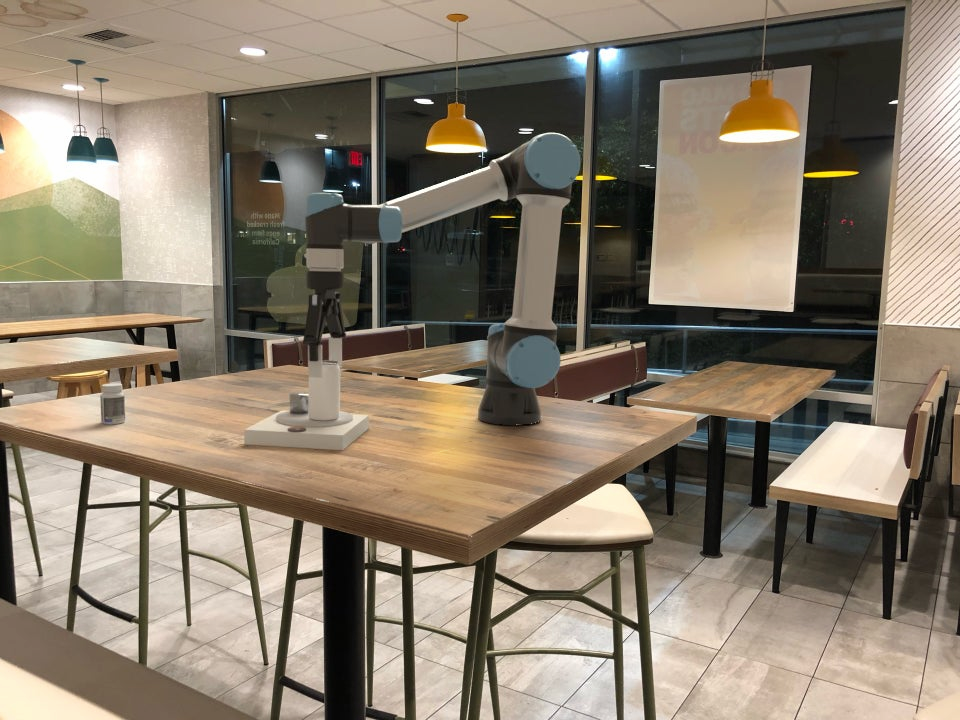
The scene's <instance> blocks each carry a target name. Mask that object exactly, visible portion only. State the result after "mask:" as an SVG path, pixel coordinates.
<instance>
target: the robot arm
mask: <svg viewBox="0 0 960 720" xmlns="http://www.w3.org/2000/svg"><path fill="white" fill-rule="evenodd" d="M580 155H581V154H580V152H579V150H578V148H577V146H576V145H575V143H574V142H573V141H572V140H571V139H570V138H569V137H568V136H565V135H564V134H561V133H558V132H557V133H556V132H546V133H541V134H538V135H536V136H534V137H533V138H531V139H530V140H529V141H527V142H525V143H523V144H521V145H519V146H518V147H517V148H515V149H513V150H512V151H511V152H509V153H507V154H505V155H503V156H500V157H498V158H496V159H492V160H490V162H489V164H488V166H486V167H483V168H481V169H478V170H475V171H473V172H470V173H469V172H468V173H467V174H464V175H460V176H458V177H456V178H452V179H448V180H445V181H443V182H441V183H437V184H434V185H432V186H429V187H425V188H424V189H421V190H418V191H414V192H412V193H409V194H406V195H403V196H401V197H397V198H394V199H391V200H389V201H386V202H384V203H380V204H375V205H373V204H349V203H345V201H344V197H343V195H342V194H339V193H330V192H313V193H309V194H308V195H307V196H306V198H305V250H306V252H305V253H304V254H303V257H304V258H305V259H306V261H305V262H306V268H307V269H309V270H308V271H306V274H305V276H306V281H305V283H306V288H307V289H308V290H314V294H308V307H307V313H306V320H305V327H304V332H303V333H304V334H303V338H302V339H303V340H302V345H304V346H307V377H308V378H309V377H317V378H322V377H323V371H322V360H323V344H321V341H322V338H323V333H324V329H325V325H327V328H328V333H329V335H330V337H328V360H331V361H337V362H338V366H339V368H340V369H342V368H343V338H344V339H345V338H346V336H347V332H346V327H345V322H344V321H345V320H344V314H343V309H342V302H341V301H342V300H341V295H342V294H341V292H336V291H340V290H343V289H344V285H345V284H344V282H345V281H344V279H345V278H344V274H345V273H344V272H343V271H342V270H343V269H344V268H345V266H344V265H345V262H344V258H345V257H344V254H345V252H344V251H345V250H344V242H359V243H360V242H361V243H363V244H366V245H373V244H376V243H384V244H389V243H398V242H400V240H401V239H402V233H403V234H404V233H405V232H408V231H410V230H414V229H417V228H419V227H422V226H425V225H428V224H430V223H434V222H437V221H439V220H443V219H445V218H448V217H451V216H453V215H456V214H459V213H463V212H465V211H467V210H470V209H474V208H477V207H479V206H482V205H485V204H488V203H491V202H492V201H493V202H494V201H496V200H500V201H503V202H506V201H509V200H513V199H516V200H518V201H519V202H520V204H521V206H522V207H521V216H520V218H521V219H520V228H519V240H518V250H517V251H518V252H517V263H516V274H515V282H514V283H515V284H514V293H513V304H512V313H511V314H512V315H511V317H510V318H509V319H507V320H506V321H505V322H504V323H494V324H492V325H490V327H489V328H488V335H487V336H486V339H487V351H486V352H487V353H486V354H487V357H486V358H487V359H486V361H487V362H486V387H485V390H484V392H483V396H482V397H481V401H480V403H479V407H478V412H477V415H478V416H477V419H478V420H479V421H482V422H485V423H487V424H492V425H493V424H494V425H499V424H502V425H501V426H517V425H516V424H530V425H532V424H531V423H535V422H538V421H540V420H542V417H541V416H542V414H541V413H542V411H541V406H540V403H539V400H538V396H537V392H536V389H537V388H541V387H543V386H546V385H547V384H549V383H550V382H551V381H553V379H554V378H555V377H556V375H557V374H558V372H559V370H560V367H561V360H562V359H561V353H560V351H559V348H558V346H557V335H558V326H557V325H556V324H555V323H554V321H553V320H552V314H553V307H554V306H553V305H554V304H553V303H554V295H555V285H556V276H557V265H558V252H559V245H560V243H559V242H560V234H561V224H562V223H561V222H562V214H563V213H562V212H563V209H564V208H565V207H566V206H567V205H568V204H569V203H570V202H571V196H572V195H571V194H572V185H573V183H574V182H575V180H576V178H577V177H578V175H579V172H580V171H581V170H580V169H581V156H580ZM540 422H541V421H540ZM538 423H539V422H538ZM535 424H536V423H535Z"/></svg>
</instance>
